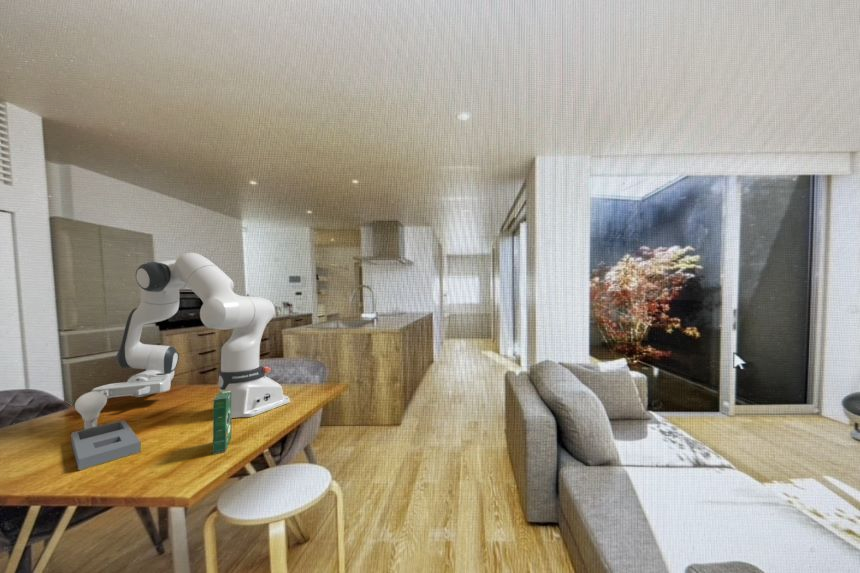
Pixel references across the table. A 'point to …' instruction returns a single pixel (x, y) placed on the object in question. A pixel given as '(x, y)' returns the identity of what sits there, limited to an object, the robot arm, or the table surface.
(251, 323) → the robot arm
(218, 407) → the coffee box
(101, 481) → the table surface
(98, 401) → the lightbulb
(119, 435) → the hole board
